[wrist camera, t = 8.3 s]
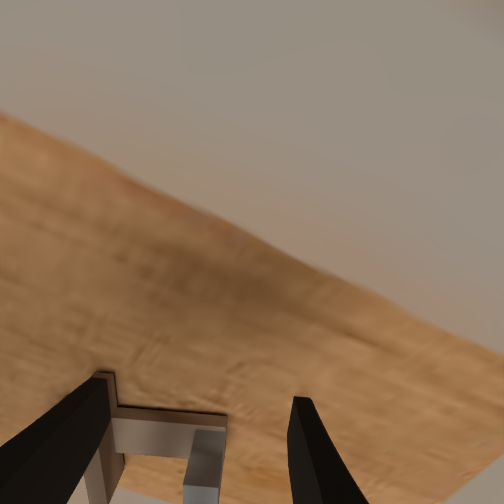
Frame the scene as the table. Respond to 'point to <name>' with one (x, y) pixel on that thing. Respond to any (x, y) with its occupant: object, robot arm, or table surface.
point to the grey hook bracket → (159, 448)
